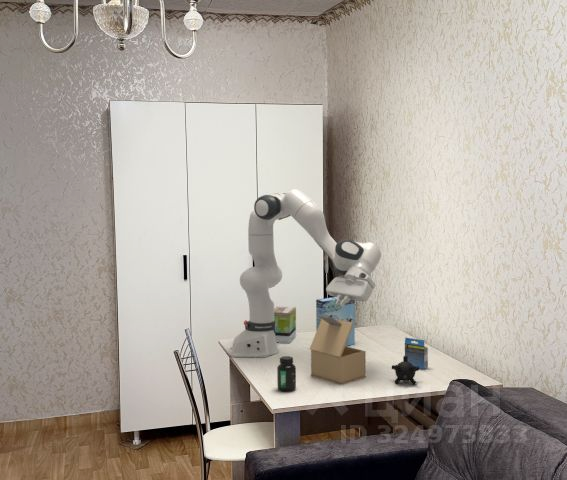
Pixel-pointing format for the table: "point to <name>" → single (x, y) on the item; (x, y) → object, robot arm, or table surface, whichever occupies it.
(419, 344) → the label tape box
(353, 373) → the carton
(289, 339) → the tea box
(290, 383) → the supplement bottle
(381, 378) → the table surface
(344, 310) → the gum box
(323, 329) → the lid
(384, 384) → the table surface
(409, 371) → the toy ball
